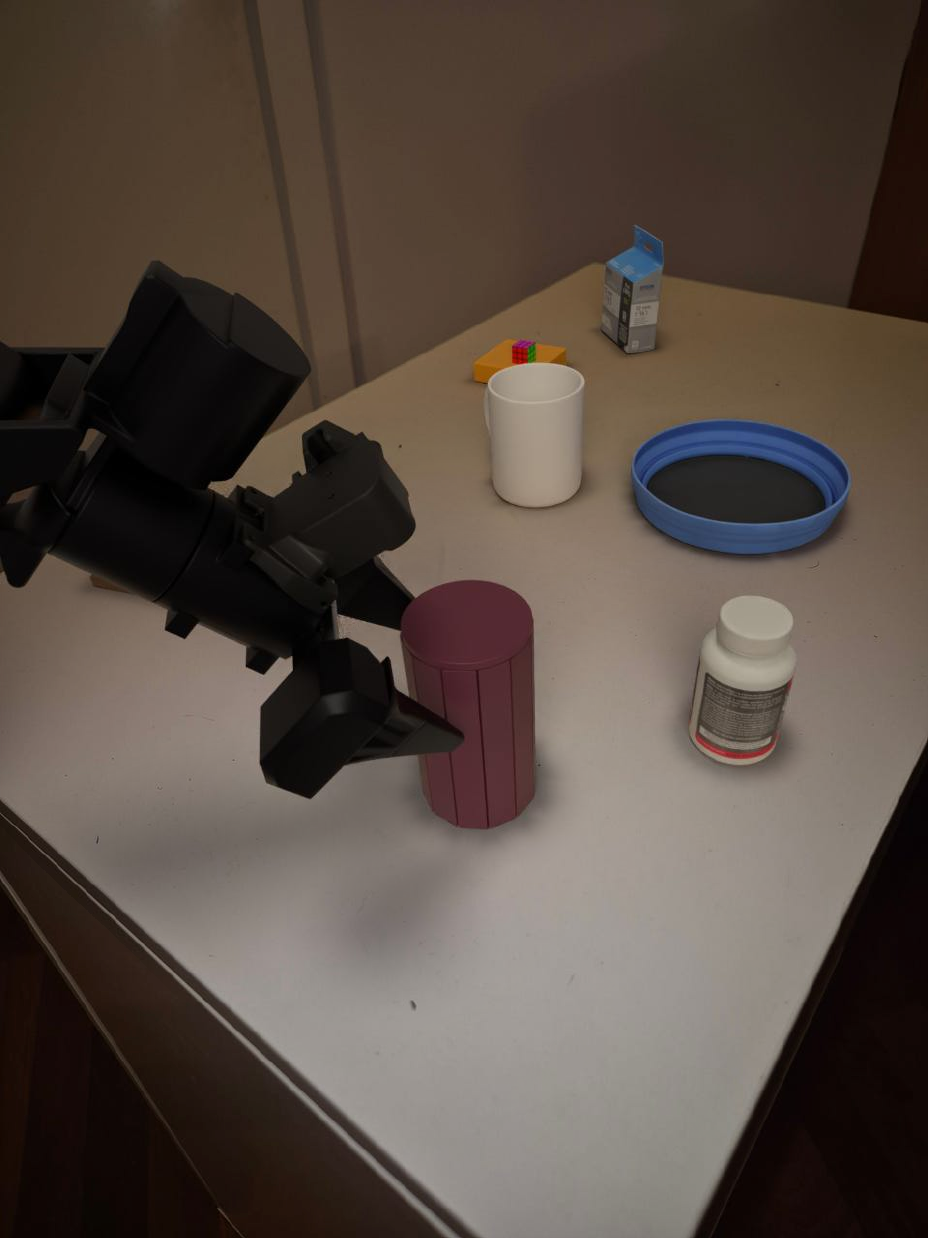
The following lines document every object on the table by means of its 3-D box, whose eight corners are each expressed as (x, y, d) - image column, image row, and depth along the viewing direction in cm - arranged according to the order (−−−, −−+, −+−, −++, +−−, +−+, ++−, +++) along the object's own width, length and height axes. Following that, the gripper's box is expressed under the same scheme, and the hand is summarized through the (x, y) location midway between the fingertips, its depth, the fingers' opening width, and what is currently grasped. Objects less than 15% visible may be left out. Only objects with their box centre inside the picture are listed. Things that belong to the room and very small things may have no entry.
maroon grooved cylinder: (492, 848, 47) (480, 682, 39) (401, 794, 51) (373, 631, 42) (556, 771, 51) (558, 606, 43) (468, 726, 55) (454, 565, 46)
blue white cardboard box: (599, 330, 107) (604, 227, 99) (629, 325, 107) (636, 223, 100) (626, 355, 100) (633, 247, 92) (657, 349, 101) (667, 242, 93)
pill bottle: (792, 757, 51) (826, 636, 45) (710, 776, 50) (734, 656, 44) (749, 697, 55) (775, 579, 49) (673, 714, 54) (690, 596, 48)
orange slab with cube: (473, 381, 97) (471, 345, 94) (507, 356, 102) (506, 321, 99) (534, 392, 93) (534, 356, 91) (566, 366, 99) (567, 330, 96)
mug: (454, 468, 81) (446, 366, 75) (523, 442, 85) (521, 342, 78) (526, 520, 73) (524, 411, 67) (600, 490, 76) (604, 383, 70)
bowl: (587, 499, 75) (588, 464, 73) (718, 434, 83) (722, 401, 81) (751, 589, 64) (758, 551, 62) (885, 504, 72) (896, 467, 69)
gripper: (285, 529, 27) (601, 709, 35) (281, 329, 41) (506, 489, 49) (117, 738, 31) (434, 855, 39) (166, 491, 46) (391, 614, 54)
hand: (444, 681), depth 45 cm, fingers open, 9 cm apart
